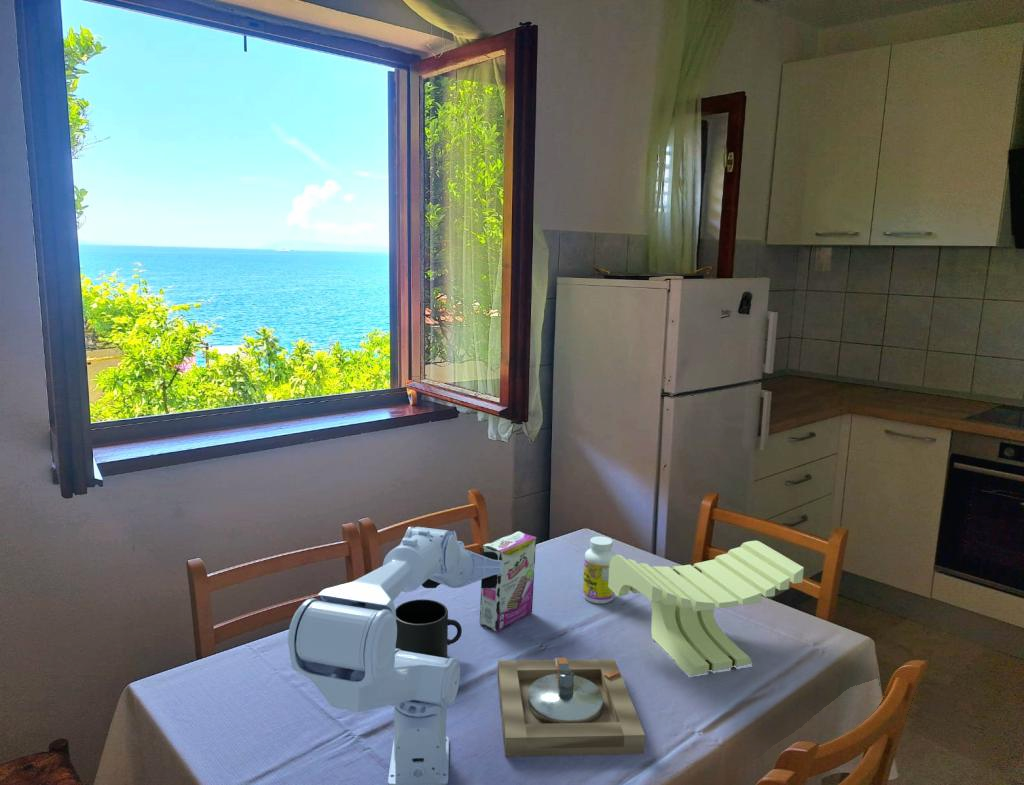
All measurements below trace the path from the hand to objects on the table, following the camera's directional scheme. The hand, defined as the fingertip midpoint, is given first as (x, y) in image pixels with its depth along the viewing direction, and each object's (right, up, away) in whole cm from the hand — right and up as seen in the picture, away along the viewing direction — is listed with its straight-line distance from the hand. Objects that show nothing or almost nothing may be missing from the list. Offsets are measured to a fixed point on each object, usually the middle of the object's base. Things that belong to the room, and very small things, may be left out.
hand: (469, 577), depth 118 cm
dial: (+15, -18, -7) cm, 25 cm away
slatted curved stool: (+41, -17, +14) cm, 47 cm away
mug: (-8, -17, +8) cm, 20 cm away
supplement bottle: (+25, -13, +33) cm, 43 cm away
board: (+15, -19, -7) cm, 26 cm away
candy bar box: (+6, -14, +22) cm, 27 cm away
